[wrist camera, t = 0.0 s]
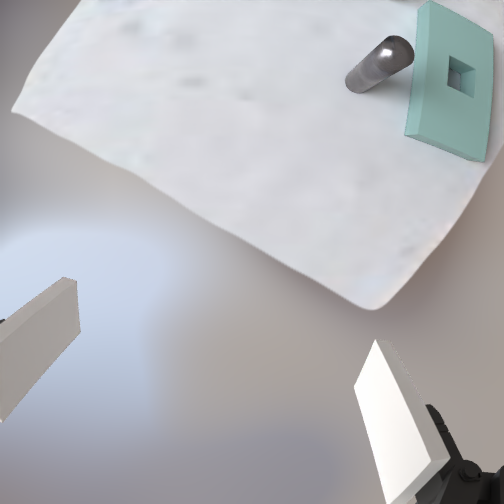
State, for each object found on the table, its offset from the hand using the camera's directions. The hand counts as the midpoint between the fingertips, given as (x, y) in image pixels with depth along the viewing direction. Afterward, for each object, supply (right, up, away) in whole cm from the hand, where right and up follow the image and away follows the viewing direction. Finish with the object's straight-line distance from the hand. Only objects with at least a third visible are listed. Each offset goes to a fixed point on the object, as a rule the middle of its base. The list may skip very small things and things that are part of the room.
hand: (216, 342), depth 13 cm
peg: (+14, +25, +21) cm, 35 cm away
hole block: (+28, +27, +19) cm, 43 cm away
